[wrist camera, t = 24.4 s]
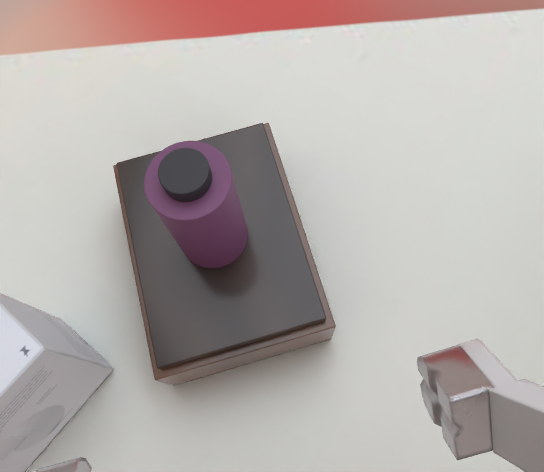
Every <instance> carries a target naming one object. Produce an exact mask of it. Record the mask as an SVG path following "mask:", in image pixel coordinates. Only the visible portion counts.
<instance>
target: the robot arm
mask: <svg viewBox="0 0 544 472" xmlns="http://www.w3.org/2000/svg"><path fill="white" fill-rule="evenodd" d="M417 365H418V371H419V372H420V374H421V376H422V377H423V381H422V383H421V384H420V386H421V392H422V396H423V400H424V403H425V406H426V408H427V410H428V412H429V415H430V416H431V418H432V420H433V422H434V423H435V424H437V425H439V426H441V427H442V432H443V438H444V440H445V441H446V443H447V445H448V446H449V448H450V449H451V451H452V453H453V454H454V456H455V458H456V459H457V460H460V459H463V458H467V457H471V456H474V455H478V454H482V453H485V452H489V451H492V450H493V452H494V453H496V454H497V455H499V456H500V457H502V458H504V459H505V460H507V461H509V462H510V463H512V464H514V465H515V466H517V467H518V468H520V469H522V470H523V471H525V472H544V386H541V385H538V384H536V383H533V382H530V381H528V380H525V379H523V380H519V381H518V380H517V379H516V378H515V377H514V376H513V375H512V374H511V373H510V372H509V371H508V369H507V368H506V367H505V366H504V365H503V364H502V363H501V362H500V361H499V360H498V359H497V357H496V356H495V355H494V354H493V353H492V352H491V351H490V350H489V349H488V348H487V347H486V346H485V344H484V343H483V342H482V341H481V340H479V339H474V340H471V341H467V342H464V343H461V344H458V345H457V346H452V347H449V348H446V349H443V350H439V351H436V352H433V353H430V354H426V355H423V356H420V357H418V359H417ZM91 469H92V468H91V466H90V464H89V463H88V461H87V460H86V458H77V459H74V460H70V461H66V462H63V463H59V464H55V465H52V466H48V467H44V468H41V469H39V470H35V471H31V472H91Z"/></svg>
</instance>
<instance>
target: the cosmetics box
mask: <svg viewBox="0 0 544 472" xmlns="http://www.w3.org/2000/svg"><path fill="white" fill-rule="evenodd" d="M112 370H113V368H112V366H111V365H110V364H109V363H108V362H106V361H105V360H104V359H103V358H102V357H101V356H100V355H99V354H98V353H97V352H96V351H95V350H94V349H93V348H92V347H91V346H89V345H88V344H87V343H86V342H85V341H84V340H83V339H82V338H81V337H80V336H79V335H78V334H77V333H76V332H74V331H73V330H72V329H71V328H70V327H69V326H68V325H67V324H66V323H65V322H63V321H62V320H61V319H59V318H57V317H55V316H52V315H50V314H48V313H45V312H43V311H41V310H38V309H36V308H34V307H31V306H29V305H27V304H24V303H22V302H20V301H17V300H15V299H13V298H11V297H8V296H6V295H4V294H1V293H0V472H25V471H26V469H27V468H28V467H29V466H30V465H31V464H32V463H33V461H34V460H35V459H36V458H37V457H38V456H39V455H40V453H41V452H42V451H43V450H44V449H45V448H46V447H47V445H48V444H49V443H50V442H51V441H52V440H53V439H54V437H55V436H56V435H57V434H58V433H59V432H60V431H61V429H62V428H63V427H64V426H65V425H66V424H67V423H68V421H69V420H70V419H71V418H72V417H73V416H74V414H75V413H76V412H77V411H78V410H79V409H80V408H81V406H82V405H83V404H84V403H85V402H86V401H87V399H88V398H89V397H90V396H91V395H92V394H93V392H94V391H95V390H96V389H97V388H98V387H99V385H100V384H101V383H102V382H103V381H104V380H105V378H106V377H107V376H108V375H109V374H110V373H111V372H112Z"/></svg>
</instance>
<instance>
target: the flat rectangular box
mask: <svg viewBox="0 0 544 472" xmlns="http://www.w3.org/2000/svg"><path fill="white" fill-rule="evenodd" d="M199 142H203V143H207V144H209V145H211V146H213V147H215V148H216V149H218V150H219V151H220V152H221V153H222V154H223V155H224V156H225V157H226V159H227V161H228V162H229V165H230V167H231V171H232V175H233V178H234V182H235V185H236V189H237V193H238V196H239V200H240V203H241V207H242V211H243V214H244V218H245V221H246V225H247V230H248V239H247V243H246V246H245V248H244V250H243V252H242V253H241V255H240V256H239V257H238V258H237V259H236V260H234V261H233V262H231V263H230V264H228V265H226V266H223V267H219V268H205V267H201V266H198V265H196V264H195V263H193V262H192V261H190V260H189V259H188V258H187V257H186V255H185V254H184V252H183V251H182V250H181V248H180V247H179V245H178V244H177V242H176V241H175V239H174V238H173V236H172V235H171V234H170V232H169V231H168V229H167V228H166V226H165V225H164V223H163V222H162V221H161V219H160V218H159V216H158V215H157V213H156V212H155V210H154V209H153V208H152V206H151V205H150V203H149V202H148V199H147V197H146V194H145V190H144V179H145V174H146V171H147V169H148V166H149V165H150V163H151V161H152V160H153V159H154V158H155V156H156V155H158V154H159V153H160V152H161V151H159V152H155V153H152V154H148V155H144V156H141V157H137V158H133V159H130V160H126V161H123V162H119V163H117V165H114V166H113V167H114V173H115V178H116V183H117V188H118V193H119V198H120V203H121V208H122V214H123V219H124V224H125V229H126V234H127V239H128V244H129V249H130V255H131V260H132V265H133V270H134V275H135V280H136V285H137V290H138V296H139V301H140V306H141V311H142V316H143V321H144V326H145V331H146V337H147V342H148V347H149V352H150V357H151V362H152V367H153V372H154V378H155V380H157V381H160V382H163V383H167V384H170V385H178V384H181V383H184V382H188V381H191V380H194V379H198V378H201V377H204V376H208V375H211V374H215V373H218V372H221V371H225V370H228V369H231V368H235V367H238V366H242V365H245V364H248V363H252V362H255V361H258V360H262V359H265V358H268V357H272V356H275V355H279V354H282V353H285V352H289V351H292V350H295V349H299V348H302V347H305V346H309V345H312V344H316V343H319V342H322V341H326V340H329V339H331V338H332V335H333V332H334V329H335V323H334V320H333V317H332V314H331V311H330V308H329V305H328V302H327V299H326V296H325V293H324V289H323V286H322V283H321V280H320V277H319V274H318V271H317V268H316V265H315V262H314V259H313V256H312V253H311V250H310V247H309V244H308V241H307V238H306V235H305V232H304V229H303V226H302V223H301V220H300V217H299V214H298V211H297V208H296V204H295V201H294V198H293V195H292V192H291V189H290V186H289V183H288V180H287V177H286V174H285V171H284V168H283V165H282V162H281V159H280V156H279V153H278V150H277V147H276V144H275V141H274V138H273V135H272V132H271V129H270V126H269V123H266V124H263V123H261V124H257V125H253V126H250V127H246V128H243V129H239V130H235V131H232V132H228V133H224V134H221V135H217V136H213V137H210V138H206V139H203V140H199Z"/></svg>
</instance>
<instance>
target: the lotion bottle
mask: <svg viewBox="0 0 544 472" xmlns="http://www.w3.org/2000/svg"><path fill="white" fill-rule="evenodd" d="M144 190H145V194H146V197H147V199H148V202H149V203H150V205H151V206H152V208H153V209H154V210H155V212H156V213H157V215H158V216H159V218H160V219H161V221H162V222H163V223H164V225H165V226H166V228H167V229H168V231H169V232H170V234H171V235H172V236H173V238H174V239H175V241H176V242H177V244H178V245H179V247H180V248H181V250H182V251H183V252H184V254H185V255H186V257H187V258H188V259H189V260H190V261H192V262H193V263H195V264H196V265H198V266H201V267H205V268H219V267H223V266H226V265H228V264H230V263H231V262H233V261H234V260H236V259H237V258H238V257H239V256H240V255H241V253H242V252H243V250H244V248H245V246H246V243H247V239H248V230H247V225H246V221H245V218H244V214H243V211H242V207H241V203H240V200H239V196H238V193H237V189H236V185H235V182H234V178H233V175H232V171H231V167H230V165H229V162H228V161H227V159H226V157H225V156H224V155H223V154H222V153H221V152H220V151H219V150H218V149H216V148H215V147H213V146H211V145H209V144H207V143H203V142H199V141H184V142H179V143H176V144H173V145H171V146H169V147H167V148H165V149H164V150H162V151H161V152H160V153H159V154H158V155H156V156H155V158H154V159H153V160H152V161H151V163H150V165H149V166H148V169H147V171H146V174H145V179H144Z"/></svg>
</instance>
